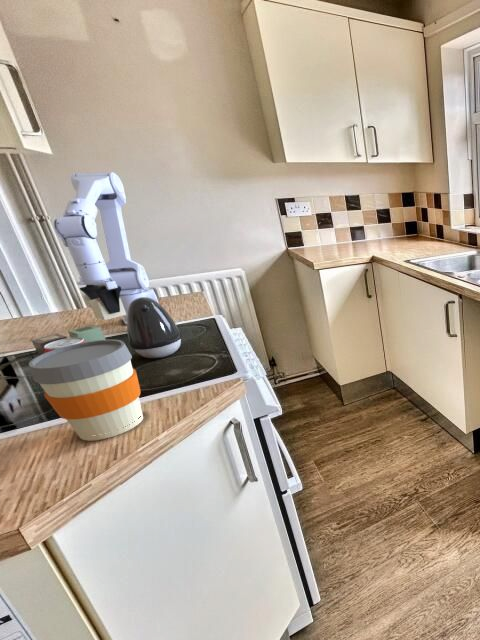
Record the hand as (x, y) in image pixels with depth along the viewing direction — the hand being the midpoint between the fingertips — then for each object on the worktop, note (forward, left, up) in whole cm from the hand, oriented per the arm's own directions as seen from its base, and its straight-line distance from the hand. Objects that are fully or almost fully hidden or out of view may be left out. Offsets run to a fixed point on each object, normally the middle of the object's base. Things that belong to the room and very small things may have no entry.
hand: (109, 311), depth 117 cm
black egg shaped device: (-6, +24, -8) cm, 26 cm away
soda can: (+9, +38, -8) cm, 40 cm away
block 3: (0, 0, -1) cm, 1 cm away
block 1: (+13, +5, -8) cm, 16 cm away
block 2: (+6, +3, -8) cm, 10 cm away
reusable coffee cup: (+7, +58, -8) cm, 59 cm away
